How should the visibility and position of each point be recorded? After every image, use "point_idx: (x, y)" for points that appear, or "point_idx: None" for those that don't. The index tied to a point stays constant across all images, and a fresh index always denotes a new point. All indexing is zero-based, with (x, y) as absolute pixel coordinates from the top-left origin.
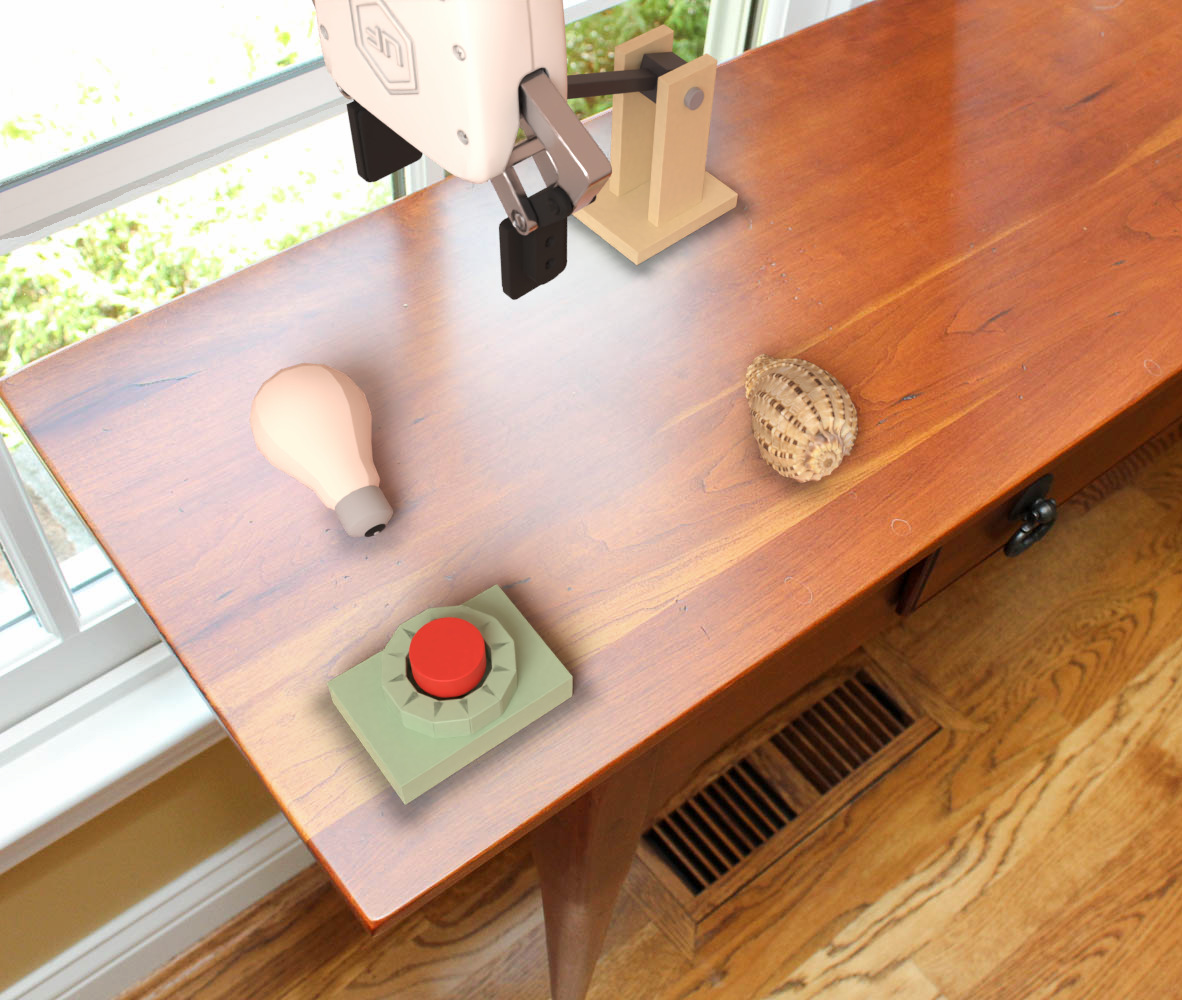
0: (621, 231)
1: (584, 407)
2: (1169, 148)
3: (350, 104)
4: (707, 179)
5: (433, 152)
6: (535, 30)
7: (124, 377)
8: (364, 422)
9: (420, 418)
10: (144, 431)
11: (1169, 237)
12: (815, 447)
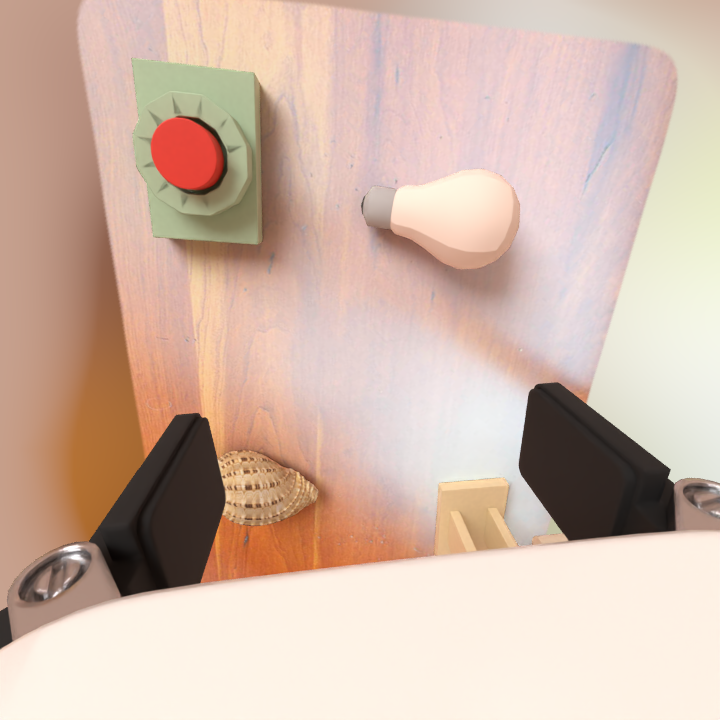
0: (463, 493)
1: (366, 389)
2: None
3: (663, 475)
4: None
5: (208, 625)
6: None
7: (622, 140)
8: (434, 250)
9: (433, 298)
10: (569, 121)
11: None
12: None
